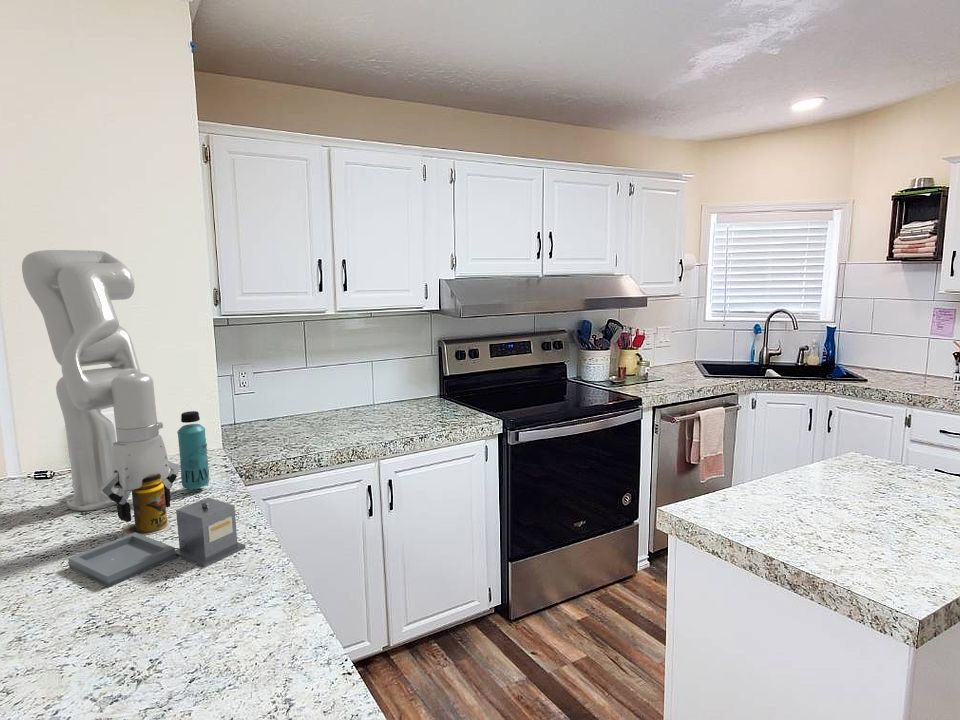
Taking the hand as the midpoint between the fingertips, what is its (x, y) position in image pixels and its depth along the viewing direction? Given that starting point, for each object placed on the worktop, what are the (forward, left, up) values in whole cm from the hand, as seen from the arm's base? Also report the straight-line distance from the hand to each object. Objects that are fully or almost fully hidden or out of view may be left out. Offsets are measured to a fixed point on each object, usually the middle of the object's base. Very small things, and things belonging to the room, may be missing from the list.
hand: (145, 512), depth 126 cm
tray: (+11, -11, -4) cm, 16 cm away
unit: (+21, 0, -4) cm, 21 cm away
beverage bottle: (-11, +19, -4) cm, 22 cm away
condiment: (0, 0, -4) cm, 4 cm away
